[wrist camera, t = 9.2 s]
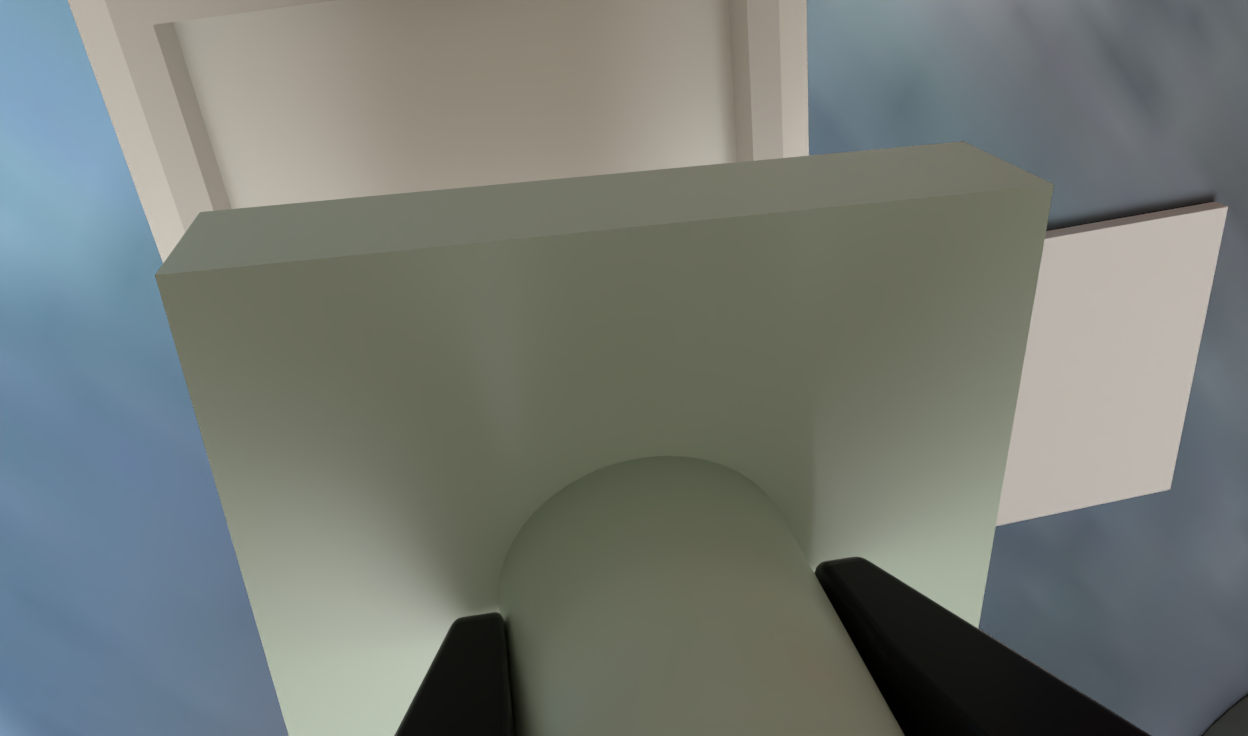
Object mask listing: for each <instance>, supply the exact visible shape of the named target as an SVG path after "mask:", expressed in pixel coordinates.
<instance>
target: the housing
mask: <svg viewBox="0 0 1248 736" xmlns="http://www.w3.org/2000/svg"><path fill="white" fill-rule="evenodd" d="M68 3H69V5H70V8H71V11H72V14H73V16H74V19H75V22H76V25H77V27H78V30H79V33H80V36H81V38H82V41H83V44H84V47H85V49H86V52H87V55H88V58H89V60H90V63H91V66H92V69H93V71H94V74H95V77H96V80H97V82H98V85H99V88H100V91H101V93H102V96H103V99H104V102H105V104H106V107H107V110H108V113H109V115H110V118H111V121H112V124H113V126H114V129H115V132H116V135H117V137H118V140H119V143H120V146H121V148H122V151H123V154H124V157H125V159H126V162H127V165H128V168H129V171H130V173H131V176H132V179H133V182H134V184H135V187H136V190H137V193H138V195H139V198H140V201H141V204H142V206H143V209H144V212H145V215H146V217H147V220H148V223H149V226H150V228H151V231H152V234H153V237H154V239H155V242H156V245H157V248H158V250H159V253H160V256H161V259H162V261H163V263H164V262H165V260H166V259H167V258H168V256H169V255H170V253H171V252H172V251H173V249H174V248H175V246H176V245H177V243H178V242H179V241H180V239H181V238H182V236H183V235H184V234H185V232H186V231H187V229H188V228H189V227H190V225H191V224H192V222H193V221H194V220H195V218H196V217H197V215H198V214H199V213H200V212H205V211H216V210H227V209H238V208H249V207H259V206H270V205H281V204H292V203H303V202H313V201H324V200H335V199H346V198H357V197H367V196H378V195H389V194H400V193H411V192H421V191H432V190H443V189H454V188H465V187H475V186H486V185H497V184H508V183H519V182H530V181H540V180H551V179H562V178H573V177H584V176H594V175H605V174H616V173H627V172H638V171H648V170H659V169H670V168H681V167H692V166H702V165H713V164H724V163H735V162H746V161H756V160H767V159H778V158H789V157H800V156H809V138H808V68H807V0H68Z"/></svg>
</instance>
